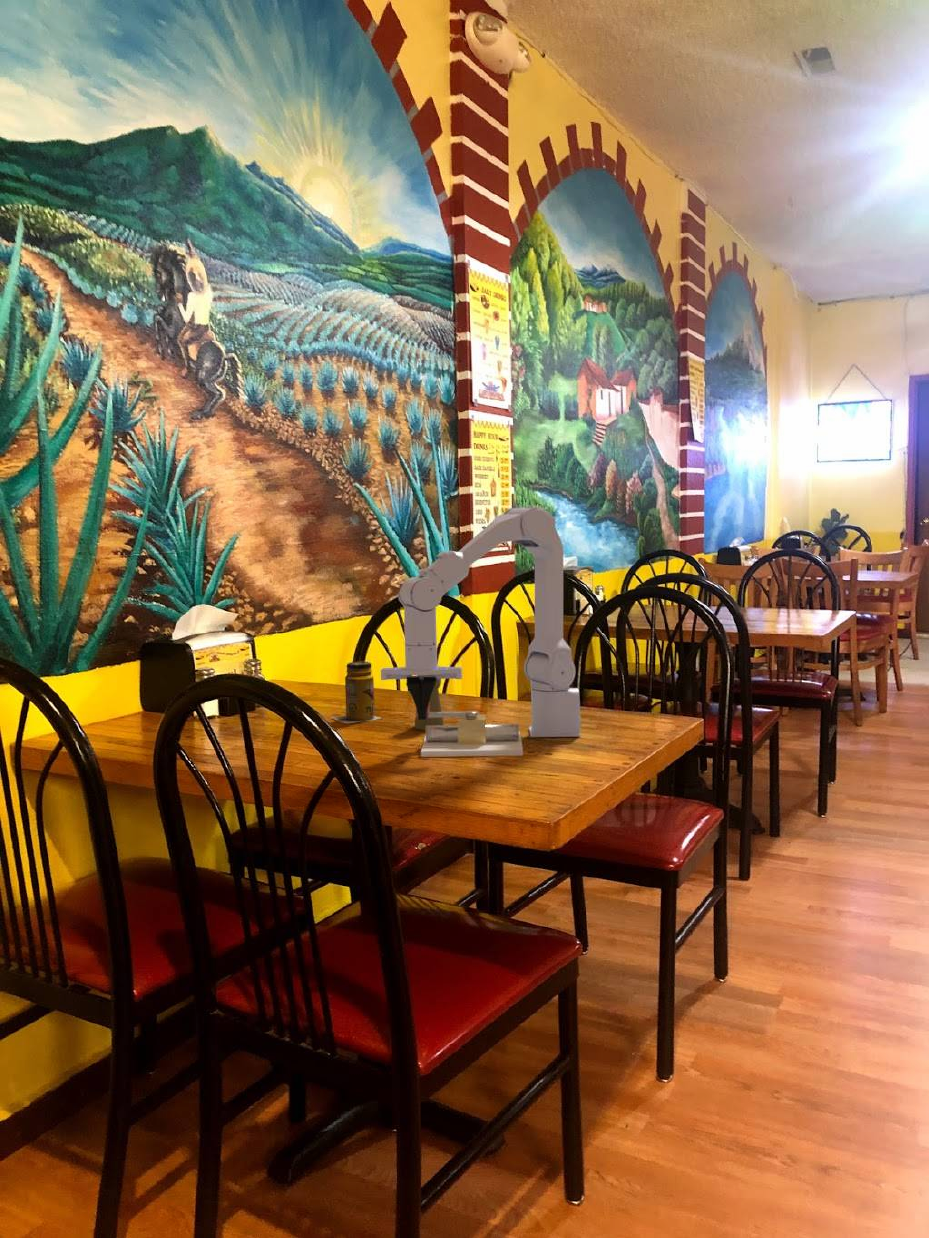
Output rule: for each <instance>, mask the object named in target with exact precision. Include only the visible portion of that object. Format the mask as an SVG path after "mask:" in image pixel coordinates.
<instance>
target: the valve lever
mask: <svg viewBox="0 0 929 1238" xmlns="http://www.w3.org/2000/svg"><path fill="white" fill-rule="evenodd" d="M416 715H417V718H418V713H417V709H416V708H415V716H416ZM478 715H479V711H477V710H467V711H442V712H429V705H428V710H427V718H439V717H443V718H458V717H467V718H476V717H478ZM427 718H426V719H427Z"/></svg>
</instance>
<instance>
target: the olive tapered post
mask: <svg viewBox="0 0 929 1238" xmlns="http://www.w3.org/2000/svg"><path fill="white" fill-rule="evenodd" d="M416 676H432V675H416ZM437 676H438V675H437ZM422 681H423V679H422ZM441 684H442V679H437V682H436V684H435V686H434V689H433V692H432V694H431V697H430V701H429V712H443V711H442V704H441V697H440V696H441V695H440V691H439V688H440V687H441ZM431 725H445V723H444V717H439V718H427V719H426V720H418V718H417V715H416V714H415V719H414V727H413V728H415V729H417V730H422V731H426V726H431Z"/></svg>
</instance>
